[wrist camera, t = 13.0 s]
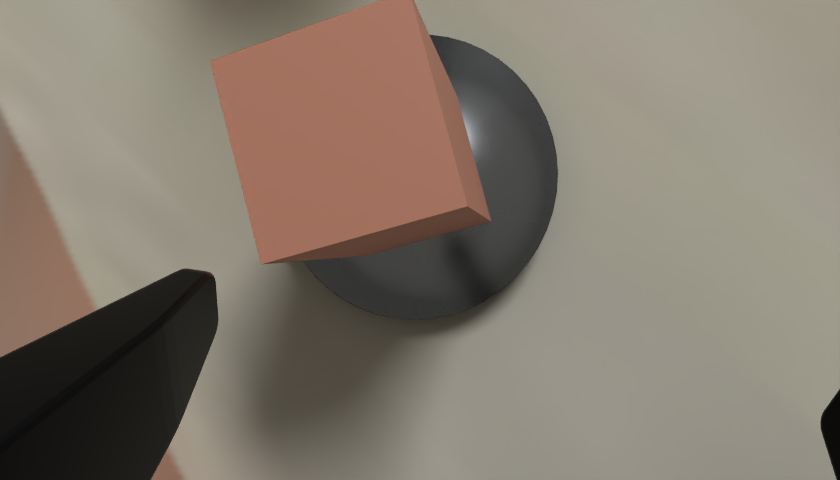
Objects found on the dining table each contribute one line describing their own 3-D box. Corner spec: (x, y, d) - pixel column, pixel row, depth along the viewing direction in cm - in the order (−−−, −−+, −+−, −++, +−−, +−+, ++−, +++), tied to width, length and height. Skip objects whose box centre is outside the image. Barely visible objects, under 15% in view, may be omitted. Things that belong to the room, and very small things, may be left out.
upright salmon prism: (491, 221, 20) (467, 205, 11) (368, 255, 20) (261, 264, 12) (457, 96, 20) (409, -10, 12) (336, 134, 21) (210, 61, 12)
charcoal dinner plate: (589, 277, 20) (592, 279, 19) (325, 343, 22) (316, 348, 21) (513, 6, 21) (512, -6, 20) (260, 92, 22) (249, 85, 21)
